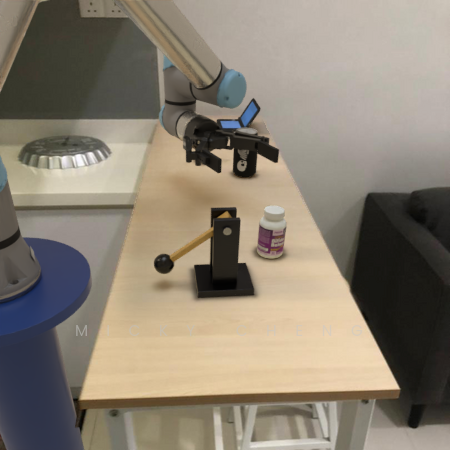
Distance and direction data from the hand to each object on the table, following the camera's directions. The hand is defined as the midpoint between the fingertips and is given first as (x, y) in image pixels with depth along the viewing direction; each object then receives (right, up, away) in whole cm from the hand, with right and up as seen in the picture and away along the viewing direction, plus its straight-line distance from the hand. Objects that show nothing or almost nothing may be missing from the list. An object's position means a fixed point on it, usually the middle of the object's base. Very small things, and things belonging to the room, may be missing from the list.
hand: (249, 161), depth 92 cm
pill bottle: (+4, -18, +3) cm, 19 cm away
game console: (-1, +34, +74) cm, 82 cm away
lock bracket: (-5, -24, -7) cm, 26 cm away
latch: (-9, -19, -11) cm, 24 cm away
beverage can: (+1, +8, +38) cm, 39 cm away
